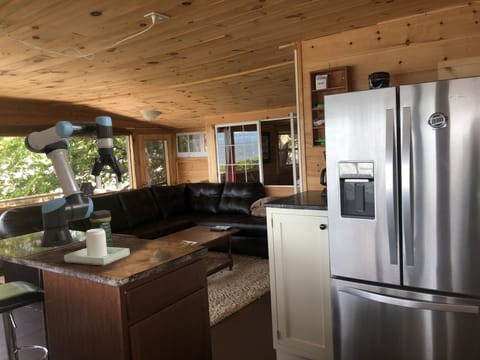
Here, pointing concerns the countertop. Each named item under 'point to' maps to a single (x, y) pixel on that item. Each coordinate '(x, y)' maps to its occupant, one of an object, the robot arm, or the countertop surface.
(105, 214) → the coffee jar
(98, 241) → the beverage can
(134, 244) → the countertop surface
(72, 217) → the robot arm
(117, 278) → the countertop surface
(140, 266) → the countertop surface
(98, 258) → the tray
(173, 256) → the countertop surface
